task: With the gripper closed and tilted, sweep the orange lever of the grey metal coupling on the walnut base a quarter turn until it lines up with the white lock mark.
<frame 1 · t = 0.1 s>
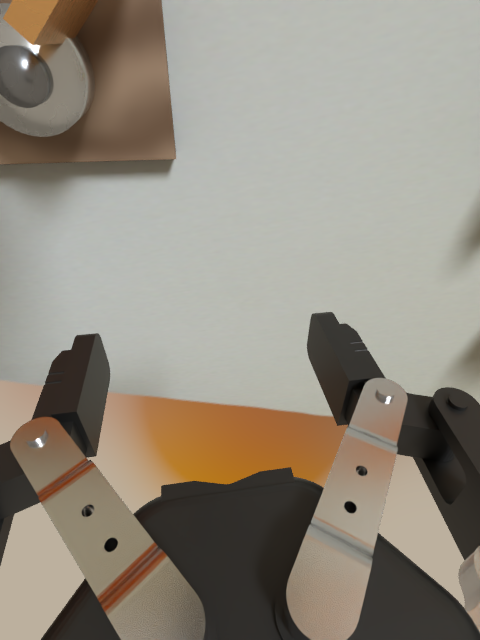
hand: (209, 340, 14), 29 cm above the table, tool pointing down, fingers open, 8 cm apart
lock handle: (49, 26, 24), point 8 cm above the table, hinge at 0.0°
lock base: (49, 69, 32), on the table
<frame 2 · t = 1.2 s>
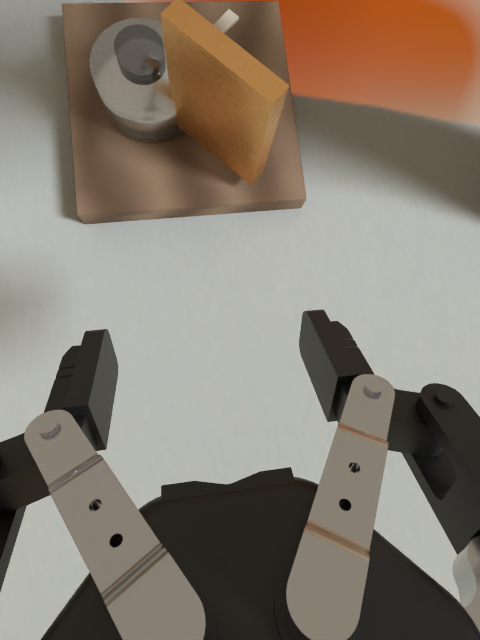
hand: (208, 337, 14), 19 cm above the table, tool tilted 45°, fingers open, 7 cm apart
lock handle: (181, 81, 27), point 8 cm above the table, hinge at 0.0°
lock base: (153, 117, 35), on the table
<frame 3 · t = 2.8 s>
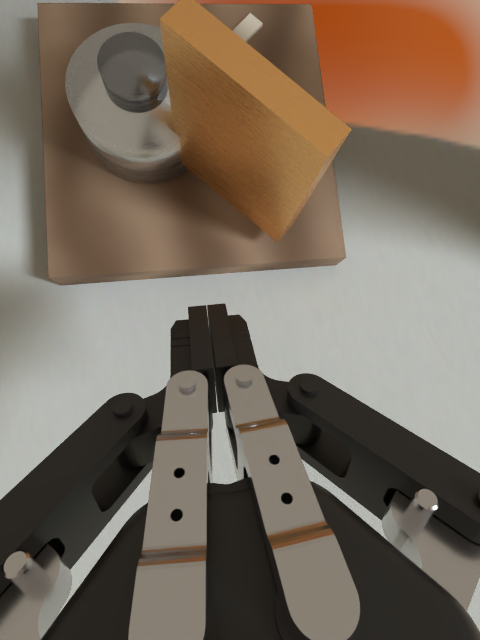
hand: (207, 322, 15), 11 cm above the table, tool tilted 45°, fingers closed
lock handle: (188, 110, 20), point 8 cm above the table, hinge at 0.0°
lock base: (152, 147, 28), on the table
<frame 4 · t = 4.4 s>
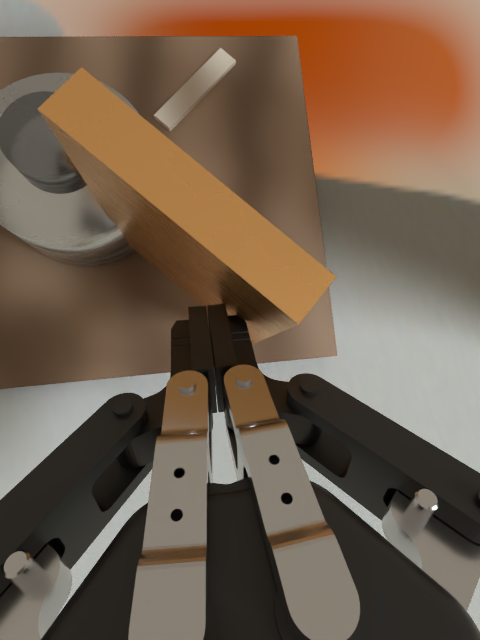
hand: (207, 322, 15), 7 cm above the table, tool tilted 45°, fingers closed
lock handle: (122, 197, 15), point 8 cm above the table, hinge at 0.2°, touching gripper
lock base: (100, 213, 23), on the table
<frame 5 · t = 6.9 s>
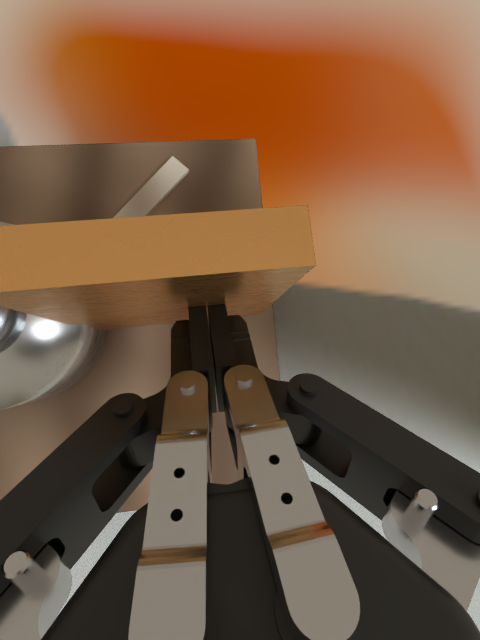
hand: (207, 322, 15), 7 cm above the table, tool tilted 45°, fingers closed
lock handle: (68, 299, 14), point 8 cm above the table, hinge at 46.0°, touching gripper
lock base: (46, 327, 21), on the table
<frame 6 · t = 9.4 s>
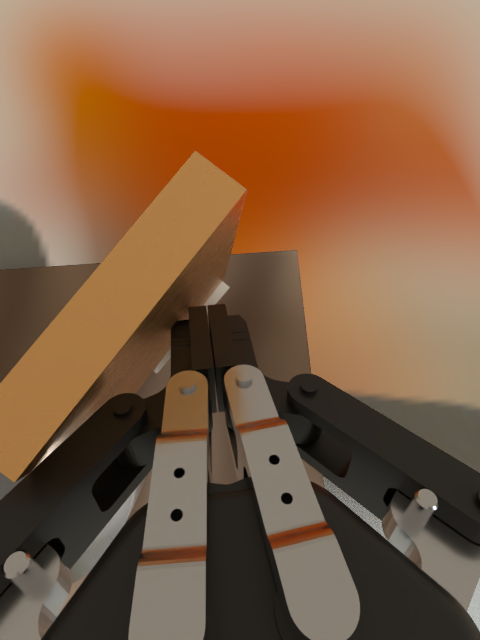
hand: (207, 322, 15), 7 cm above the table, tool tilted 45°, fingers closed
lock handle: (82, 408, 13), point 8 cm above the table, hinge at 93.0°, touching gripper, hand
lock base: (81, 449, 21), on the table
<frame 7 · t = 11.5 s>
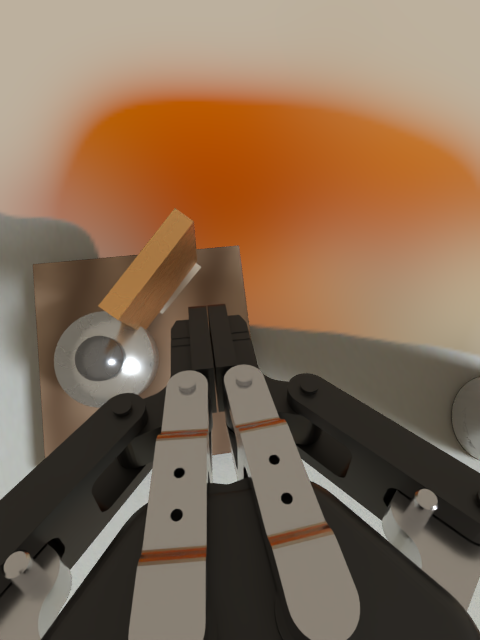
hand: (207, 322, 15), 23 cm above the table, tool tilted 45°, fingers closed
lock handle: (129, 317, 30), point 8 cm above the table, hinge at 93.0°
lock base: (121, 359, 37), on the table
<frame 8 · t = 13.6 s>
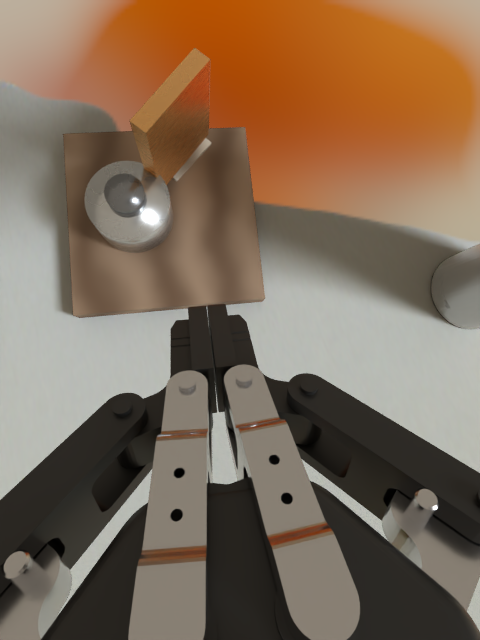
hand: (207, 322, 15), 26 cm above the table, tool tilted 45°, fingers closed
lock handle: (151, 160, 35), point 8 cm above the table, hinge at 93.0°
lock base: (138, 224, 42), on the table
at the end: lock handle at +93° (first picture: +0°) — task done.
